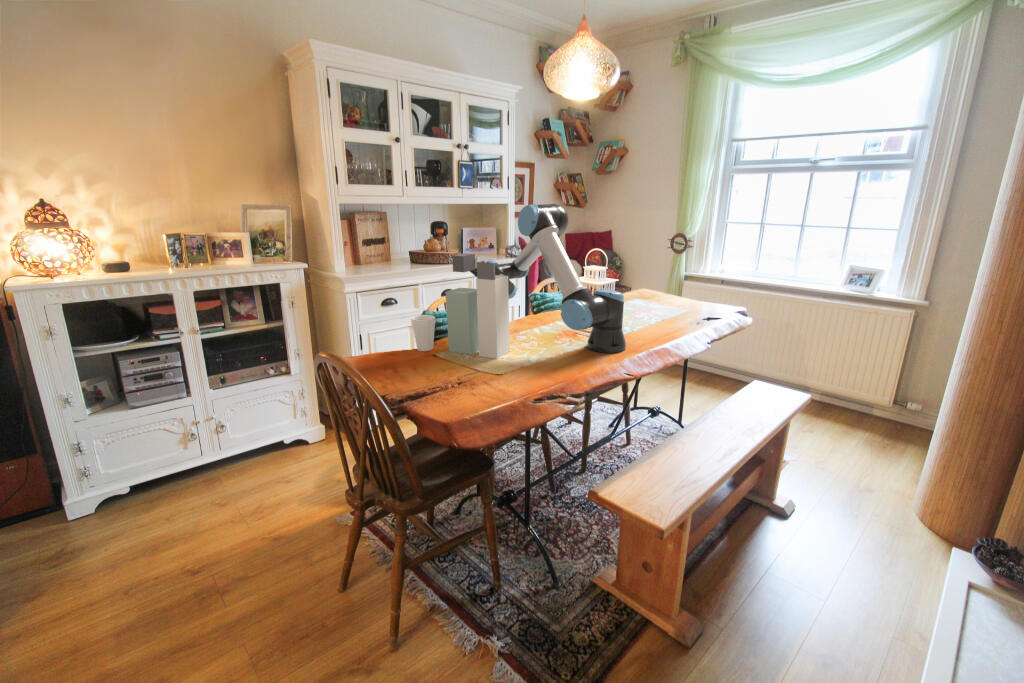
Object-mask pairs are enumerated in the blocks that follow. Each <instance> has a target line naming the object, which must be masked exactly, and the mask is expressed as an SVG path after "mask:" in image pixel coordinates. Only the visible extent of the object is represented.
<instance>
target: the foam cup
mask: <svg viewBox="0 0 1024 683" xmlns="http://www.w3.org/2000/svg"><path fill="white" fill-rule="evenodd" d="M410 320H411V321H410V324H411V326H412V329H413V335H414V339H415V344H416V348H417V351H419V352H427V351H432V350H433V349H434V344H435V342H434V341H435V340H434V338H435V328H436V327H435V326H436V317H435V316H434V315H432V314H418V315H414V316H411V317H410Z"/></svg>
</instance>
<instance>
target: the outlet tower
mask: <svg viewBox="0 0 1024 683" xmlns="http://www.w3.org/2000/svg"><path fill="white" fill-rule="evenodd" d="M475 282H476V289H477V314H478V340H479V350H478V357H483V358H488V359H495V360H498V359H500V358H502V357H503V356H505V355H506V354H508V353H509V352H510V349H511V348H510V309H509V307H510V306H509V305H510V304H509V302H510V301H509V300H510V299H509V293H508V276H501V275H495V263H487V261H485V262H477V277H476V278H475Z"/></svg>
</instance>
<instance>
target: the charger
mask: <svg viewBox="0 0 1024 683" xmlns="http://www.w3.org/2000/svg"><path fill="white" fill-rule="evenodd" d="M475 255H476V254H475V253H467V252H466V253H464V252H463V253H459V254H454V255H452V256H451V257H452V258H451V259H452V260H451V261H452V272H453V273H454V272H455V273H468V272H470V271H471V270H475V268H477V264H476V263H475V259H476V256H475ZM482 260H483V261H484V262H486V259H482Z"/></svg>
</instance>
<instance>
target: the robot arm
mask: <svg viewBox="0 0 1024 683" xmlns="http://www.w3.org/2000/svg"><path fill="white" fill-rule="evenodd" d="M568 215H569V214H568V212H567V211H566V210H565V208H564V207H563V206H561V205H560V204H556V203H547V204H546V203H545V204H536V203H533V204H527V205H525V206H523V207H522V208H521V209H520V211H519V213H518V217H517V227H518V231H519V233H520V234H521V235H523V236H525V237H529V239H530V241H528V243H527V244H526V245H525V247H523V249H522V250H521V251H520V252H519V253H518V255H517V256H516V257H515V259H514V260H512V262H508V263H507V262H506V263H498V262H497V261H496V260H494V259H490V260H487V261H486V262H487V263H495V275H501V276H508V293H509V300H511V299H513V298H514V297H515V296H516V295H517V293H518V292H517V290H518V288H517V287H516V285H515V284H514V283H513V282H512V281H511V280H513V279H521V278H525V277H527V276H528V275H529V271H530V267H531V266H532V264H534V262H535V261H536V260H537V259H538V258H539V257H540V256H541V255H542V257H543V260H544V261H545V263H546V265H547V267H548V269H549V271H550V273H551V275H552V278H553V279H554V280H553V281H554V282H555V284H556V285H557V288H558V289H559V291H560V292H559V293H560V294H561V296H562V298H561V300H560V302H561V306H560V307H561V308H560V317H561V319H562V322H563V323H564V324H565V325H566V327H568V328H569V329H571V330H573V331H574V330H575V331H580V330H587V329H589V328H591V331H590V333H589V336H588V339H587V345H586V346H587V348H588V349H589V350H591V351H593V352H595V353H606V354H612V353H614V354H615V353H620V352H623V351H624V350H626V348H627V347H626V346H627V341H626V338H625V335H624V331H623V321H624V320H623V319H624V307H625V306H624V305H625V299H624V298H625V297H624V296H625V295H624V293H622V292H621V291H616V290H610V289H594V290H593V293H592V292H591V290H590V288H589V287H587V286H584V285H583V284H582V280H581V279H580V277H579V276H578V273H577V271H576V269H575V268H574V266H573V263H572V261H571V259H570V257H569V255H568V254H567V252H566V250H565V248H564V246H563V243H562V242H561V240H560V237H561V236H562V235H564V233H565V232H566V230H567V228H568V225H569V216H568ZM483 260H484V259H482V258H481V257H479V256H478V255H476V256H475V263H476V264H477V262H484V261H483ZM469 272H470V273H471V274H472V275H473V276H474V277H476V278H477V268H475V270H471V271H469Z"/></svg>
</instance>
